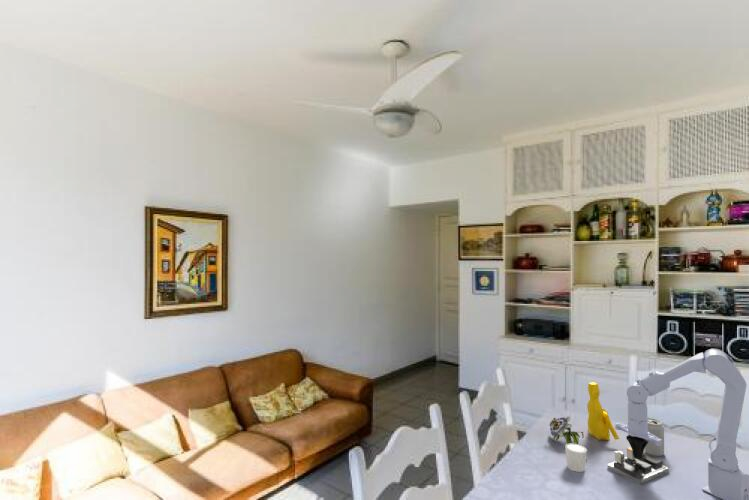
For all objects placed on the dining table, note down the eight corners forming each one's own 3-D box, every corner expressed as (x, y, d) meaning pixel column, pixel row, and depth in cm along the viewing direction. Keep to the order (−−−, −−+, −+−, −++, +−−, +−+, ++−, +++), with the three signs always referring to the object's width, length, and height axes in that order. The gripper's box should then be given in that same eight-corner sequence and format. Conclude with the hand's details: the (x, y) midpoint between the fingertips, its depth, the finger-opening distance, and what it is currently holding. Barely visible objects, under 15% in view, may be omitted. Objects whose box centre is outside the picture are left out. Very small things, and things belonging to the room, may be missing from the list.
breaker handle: (636, 458, 140) (636, 449, 140) (632, 460, 140) (632, 450, 140) (630, 455, 142) (630, 446, 142) (626, 457, 141) (626, 448, 141)
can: (668, 458, 146) (668, 425, 146) (645, 456, 148) (645, 424, 148) (658, 448, 154) (657, 417, 154) (636, 446, 155) (636, 415, 155)
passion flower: (554, 453, 161) (542, 422, 168) (581, 448, 162) (567, 417, 168) (562, 449, 152) (549, 416, 159) (590, 443, 152) (576, 411, 159)
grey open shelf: (668, 472, 137) (668, 453, 137) (640, 485, 131) (639, 465, 130) (635, 457, 147) (635, 439, 147) (607, 468, 140) (607, 450, 140)
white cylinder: (575, 474, 137) (575, 453, 137) (560, 464, 144) (560, 444, 144) (591, 471, 139) (591, 450, 139) (576, 461, 146) (576, 441, 146)
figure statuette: (623, 447, 155) (623, 390, 155) (604, 448, 154) (604, 391, 154) (593, 426, 173) (593, 375, 173) (576, 428, 172) (575, 376, 172)
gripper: (609, 413, 144) (610, 451, 144) (652, 429, 130) (653, 471, 131) (622, 409, 147) (622, 446, 147) (665, 424, 134) (666, 465, 134)
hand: (637, 457), depth 139 cm, fingers closed
